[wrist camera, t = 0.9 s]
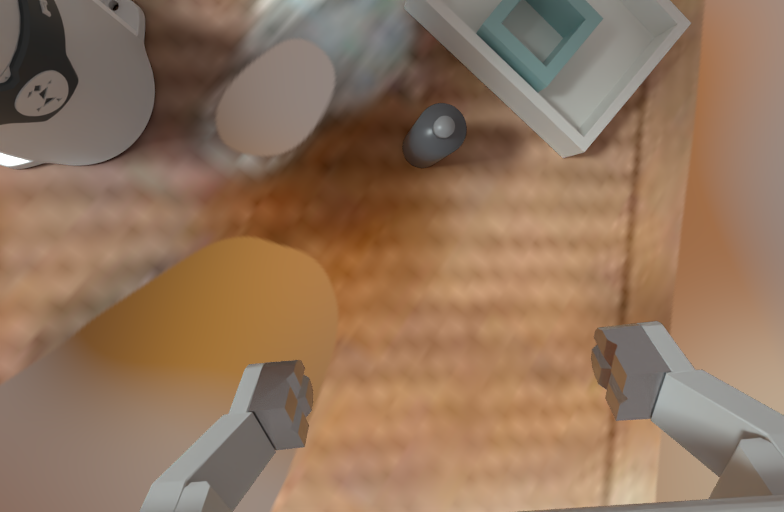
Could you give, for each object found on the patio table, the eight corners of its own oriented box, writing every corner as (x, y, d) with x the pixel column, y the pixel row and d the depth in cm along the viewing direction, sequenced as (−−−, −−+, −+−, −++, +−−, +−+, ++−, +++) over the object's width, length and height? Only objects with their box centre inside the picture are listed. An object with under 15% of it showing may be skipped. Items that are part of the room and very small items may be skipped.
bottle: (394, 149, 42) (408, 128, 32) (419, 119, 42) (442, 88, 32) (424, 176, 43) (447, 163, 33) (449, 145, 43) (480, 123, 33)
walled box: (403, 8, 41) (411, -21, 36) (508, -118, 41) (530, -164, 36) (563, 158, 44) (590, 150, 39) (660, 40, 44) (700, 18, 39)
